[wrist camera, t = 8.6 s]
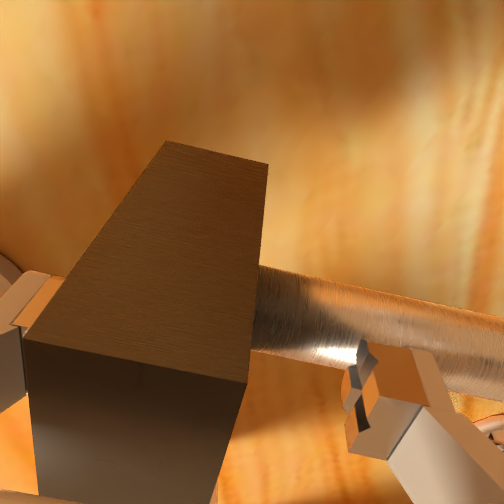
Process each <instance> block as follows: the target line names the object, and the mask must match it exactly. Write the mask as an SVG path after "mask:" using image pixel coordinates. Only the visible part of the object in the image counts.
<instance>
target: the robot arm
mask: <svg viewBox="0 0 504 504" xmlns="http://www.w3.org/2000/svg"><path fill="white" fill-rule="evenodd" d="M65 279H66V278H65V277H61V276H57V275H50V274H46V273H41V272H37V271H33V270H29V271H27V272H25V273H23V274H22V275H21V276H20V278H19V279H18V280H17V281H16V282H15V283H14V284H13V285H12V286H11V288H10V289H9V290H8V291H7V292H6V293H5V294H4V295H3V296H2V298H1V299H0V413H2V412H3V411H4V410H6V409H7V408H9V407H10V406H12V405H13V404H14V403H16V402H17V401H19V400H20V399H22V398H23V397H24V396H26V393H28V388H27V378H26V369H25V359H24V350H23V340H22V338H23V337H24V336H25V334H26V333H27V331H28V330H29V329H30V327H31V326H32V325H33V323H34V322H35V320H36V319H37V318H38V316H39V315H40V313H41V312H42V311H43V309H44V308H45V307H46V305H47V304H48V302H49V301H50V300H51V298H52V297H53V296H54V294H55V293H56V291H57V290H58V289H59V287H60V286H61V285H62V283H63V282H64V280H65ZM355 357H356V363H357V364H355V365H353V366H349V367H347V368H346V371H345V373H344V375H343V380H342V385H341V402H342V407H343V408H344V410H345V411H346V412H347V413H348V415H349V416H348V418H347V420H346V422H345V424H344V425H345V432H346V440H347V447H348V452H349V453H354V454H358V455H363V456H368V457H372V458H377V459H382V460H386V461H387V464H388V466H389V467H390V469H391V470H392V472H393V473H394V475H395V476H396V478H397V479H398V481H399V482H400V484H401V485H402V487H403V488H404V490H405V491H406V493H407V494H408V496H409V497H410V499H411V500H412V502H413V503H414V504H504V453H503V452H502V451H501V450H500V449H499V448H498V447H497V446H496V445H495V444H494V443H493V442H492V441H491V440H490V439H489V438H488V437H487V436H485V435H484V434H483V433H482V432H481V431H480V430H479V429H478V428H477V427H476V426H475V425H474V424H473V423H472V422H471V421H470V420H469V419H468V418H467V417H466V416H465V415H464V414H461V413H457V412H456V411H455V408H454V406H453V403H452V401H451V398H450V396H449V393H448V391H447V388H446V386H445V383H444V381H443V379H442V376H441V374H440V371H439V369H438V366H437V364H436V361H435V359H434V356H433V354H432V353H431V352H430V351H427V350H421V349H416V348H410V347H403V346H398V345H392V344H387V343H382V342H377V341H372V340H367V339H362V340H361V341H360V343H359V346H358V349H357V352H356V354H355ZM0 504H84V503H78V502H72V501H67V500H61V499H55V498H49V497H44V496H38V495H32V494H27V493H21V492H15V491H10V490H4V489H0Z"/></svg>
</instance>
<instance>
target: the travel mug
mask: <svg viewBox="0 0 504 504" xmlns="http://www.w3.org/2000/svg"><path fill="white" fill-rule="evenodd" d="M22 274H23V273H22V272H21V271H20V270H19V269H18V268H17V267H16V266H15V265H14V264H13V263H12V262H10V261H9V260H8V259H7V258H5V257H4V256H2V255H1V254H0V299H1V298H2V296H3V295H4V294H5V293H6V292H7V291H8V290H9V289H10V288H11V286H12V285H13V284H14V283H15V282H16V281H17V280H18V279H19V278H20V276H21V275H22Z"/></svg>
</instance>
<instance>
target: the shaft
mask: <svg viewBox="0 0 504 504" xmlns="http://www.w3.org/2000/svg"><path fill="white" fill-rule="evenodd" d="M268 165H269V164H265V163H261V162H257V161H252V160H248V159H244V158H239V157H235V156H231V155H226V154H222V153H218V152H213V151H209V150H205V149H200V148H196V147H192V146H187V145H183V144H179V143H174V142H170V141H165V143H164V144H163V146H162V147H161V148H160V150H159V151H158V152H157V154H156V155H155V157H154V158H153V159H152V161H151V162H150V163H149V165H148V166H147V168H146V169H145V170H144V172H143V173H142V174H141V176H140V177H139V179H138V180H137V181H136V183H135V184H134V185H133V187H132V188H131V190H130V191H129V192H128V194H127V195H126V196H125V198H124V199H123V201H122V202H121V203H120V205H119V206H118V207H117V209H116V210H115V212H114V213H113V214H112V216H111V217H110V218H109V220H108V221H107V223H106V224H105V225H104V227H103V228H102V230H101V231H100V232H99V234H98V235H97V236H96V238H95V239H94V241H93V242H92V243H91V245H90V246H89V247H88V249H87V250H86V252H85V253H84V254H83V256H82V257H81V258H80V260H79V261H78V263H77V264H76V265H75V267H74V268H73V269H72V271H71V272H70V274H69V275H68V276H67V278H66V279H65V280H64V282H63V283H62V285H61V286H60V287H59V289H58V290H57V291H56V293H55V294H54V296H53V297H52V298H51V300H50V301H49V302H48V304H47V305H46V307H45V308H44V309H43V311H42V312H41V313H40V315H39V316H38V318H37V319H36V320H35V322H34V323H33V325H32V326H31V327H30V329H29V330H28V331H27V333H26V334H25V336H24V337H23V338H22V340H23V350H24V359H25V369H26V378H27V388H28V397H29V407H30V416H31V425H32V435H33V444H34V454H35V463H36V473H37V482H38V492H39V496H44V497H49V498H55V499H61V500H67V501H72V502H78V503H84V504H210V501H211V498H212V495H213V491H214V488H215V485H216V482H217V479H218V476H219V472H220V469H221V466H222V463H223V460H224V456H225V453H226V450H227V447H228V444H229V440H230V437H231V434H232V431H233V428H234V424H235V421H236V418H237V415H238V412H239V408H240V405H241V402H242V399H243V396H244V392H245V389H246V386H247V381H248V371H249V361H250V350H251V351H255V352H260V353H265V354H270V355H275V356H280V357H285V358H290V359H294V360H299V361H304V362H309V363H314V364H319V365H324V366H329V367H333V368H338V369H343V370H346V368H347V367H349V366H353V365H355V364H357V363H356V357H355V354H356V352H357V349H358V346H359V343H360V341H361V340H362V339H367V340H372V341H377V342H382V343H387V344H392V345H398V346H403V347H410V348H416V349H421V350H427V351H430V352H431V353H432V354H433V356H434V359H435V361H436V364H437V366H438V369H439V371H440V374H441V376H442V379H443V381H444V383H445V386H446V388H447V391H451V392H455V393H460V394H465V395H470V396H475V397H480V398H485V399H490V400H494V401H499V402H504V318H501V317H497V316H492V315H487V314H483V313H478V312H474V311H469V310H464V309H460V308H455V307H451V306H446V305H441V304H437V303H432V302H427V301H423V300H418V299H414V298H409V297H404V296H400V295H395V294H391V293H386V292H381V291H377V290H372V289H368V288H363V287H358V286H354V285H349V284H344V283H340V282H335V281H331V280H326V279H321V278H317V277H312V276H308V275H303V274H298V273H294V272H289V271H285V270H280V269H275V268H271V267H266V266H261V265H259V257H260V247H261V237H262V227H263V216H264V206H265V196H266V185H267V175H268Z"/></svg>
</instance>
